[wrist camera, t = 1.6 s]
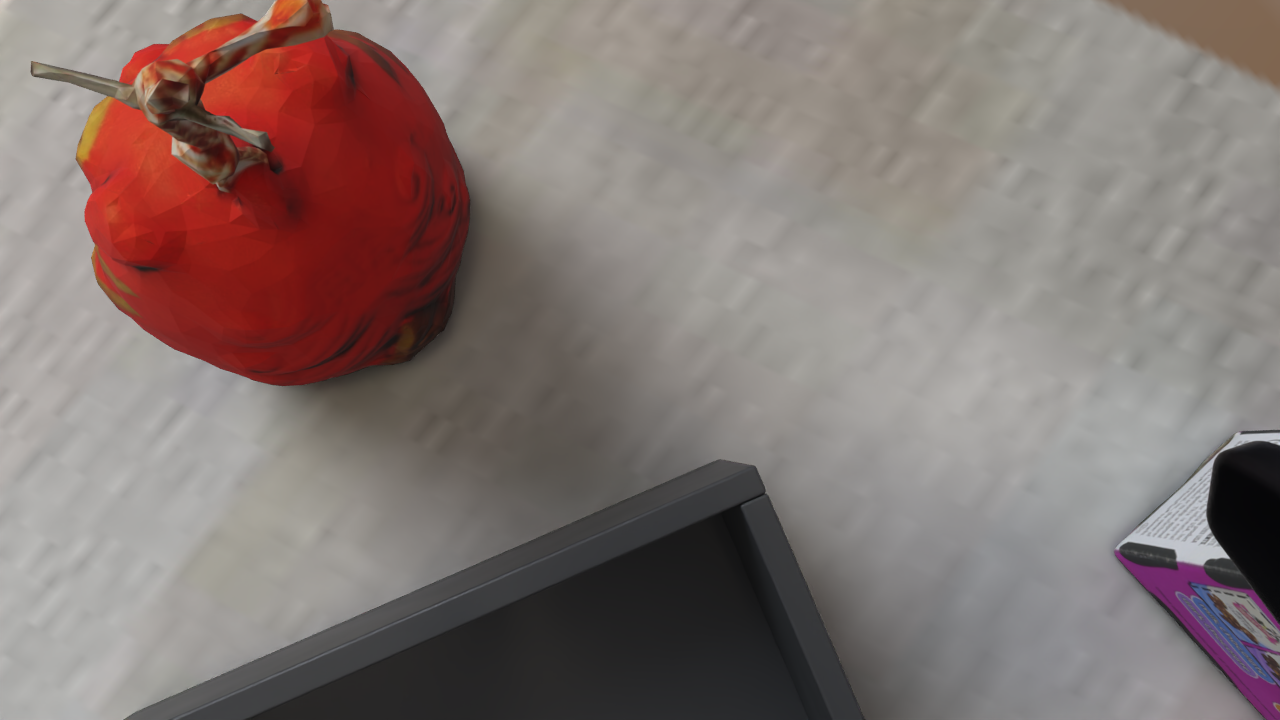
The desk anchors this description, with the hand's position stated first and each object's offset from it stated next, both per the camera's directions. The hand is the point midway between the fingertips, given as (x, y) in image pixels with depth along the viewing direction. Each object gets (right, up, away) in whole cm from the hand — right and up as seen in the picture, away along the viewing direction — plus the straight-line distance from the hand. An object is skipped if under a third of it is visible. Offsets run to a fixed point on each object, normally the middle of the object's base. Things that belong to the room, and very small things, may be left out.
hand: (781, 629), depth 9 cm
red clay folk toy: (-9, +5, +15) cm, 18 cm away
